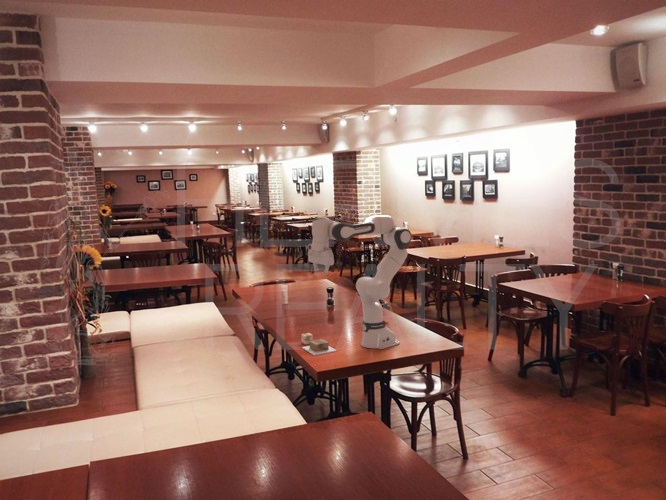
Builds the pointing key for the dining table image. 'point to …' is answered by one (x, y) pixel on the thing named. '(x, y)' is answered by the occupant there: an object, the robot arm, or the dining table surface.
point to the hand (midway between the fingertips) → (321, 271)
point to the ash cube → (306, 338)
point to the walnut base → (319, 345)
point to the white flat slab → (318, 351)
